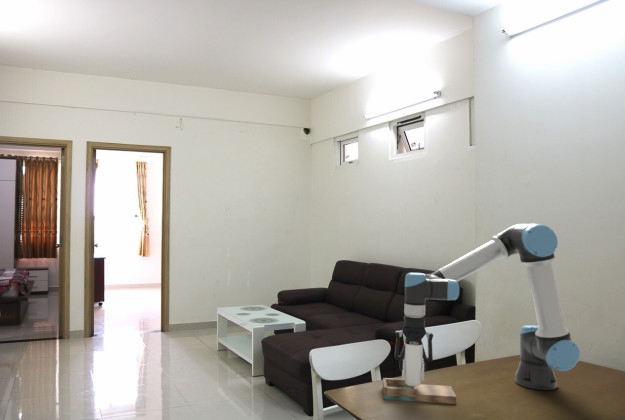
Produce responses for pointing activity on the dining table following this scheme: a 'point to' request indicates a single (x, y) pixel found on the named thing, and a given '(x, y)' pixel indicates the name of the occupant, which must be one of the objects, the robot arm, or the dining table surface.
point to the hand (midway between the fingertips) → (412, 379)
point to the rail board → (417, 392)
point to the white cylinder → (413, 363)
